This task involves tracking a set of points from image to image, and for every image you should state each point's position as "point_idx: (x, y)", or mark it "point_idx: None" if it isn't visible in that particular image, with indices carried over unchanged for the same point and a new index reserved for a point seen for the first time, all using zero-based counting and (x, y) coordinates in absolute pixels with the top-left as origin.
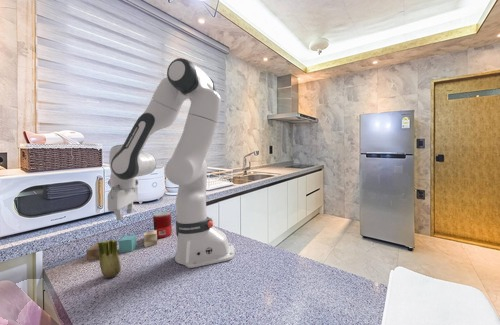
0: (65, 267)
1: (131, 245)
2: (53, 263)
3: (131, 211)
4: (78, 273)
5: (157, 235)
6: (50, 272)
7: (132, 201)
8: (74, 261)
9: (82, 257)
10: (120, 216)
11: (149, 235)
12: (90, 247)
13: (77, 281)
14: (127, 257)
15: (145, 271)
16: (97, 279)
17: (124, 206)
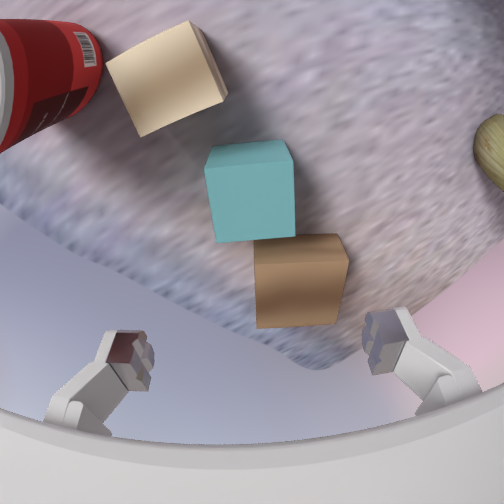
0: None
1: (287, 151)
2: (321, 362)
3: (118, 337)
4: (429, 258)
5: (96, 78)
6: None
7: (88, 447)
8: None
9: None
10: (417, 331)
11: (209, 64)
12: (307, 325)
13: (474, 230)
14: (358, 132)
15: (486, 27)
16: None
17: (423, 420)
